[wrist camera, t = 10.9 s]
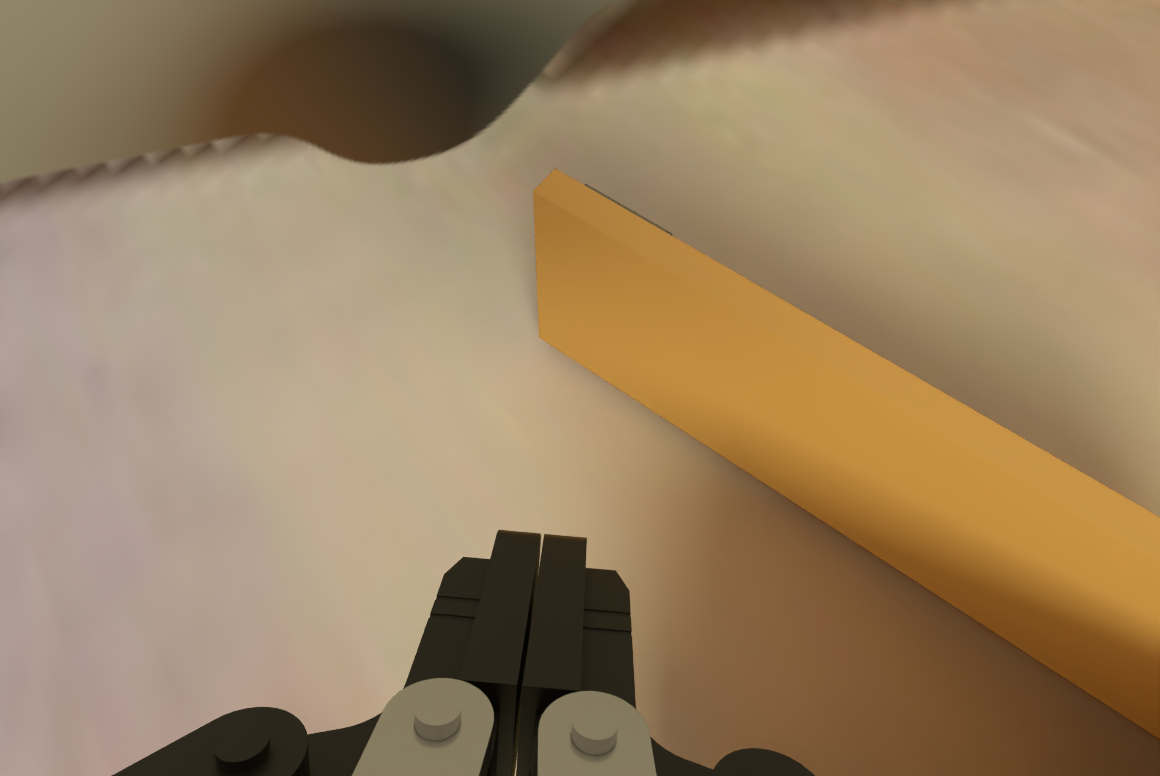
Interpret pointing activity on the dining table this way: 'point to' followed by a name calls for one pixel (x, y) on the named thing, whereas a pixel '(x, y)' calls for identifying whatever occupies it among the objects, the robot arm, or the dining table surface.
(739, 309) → the side door
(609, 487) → the dining table surface
